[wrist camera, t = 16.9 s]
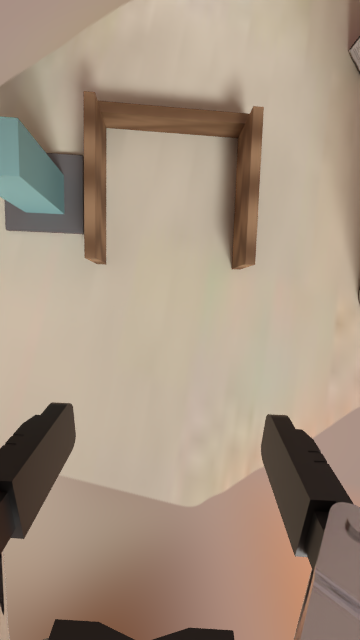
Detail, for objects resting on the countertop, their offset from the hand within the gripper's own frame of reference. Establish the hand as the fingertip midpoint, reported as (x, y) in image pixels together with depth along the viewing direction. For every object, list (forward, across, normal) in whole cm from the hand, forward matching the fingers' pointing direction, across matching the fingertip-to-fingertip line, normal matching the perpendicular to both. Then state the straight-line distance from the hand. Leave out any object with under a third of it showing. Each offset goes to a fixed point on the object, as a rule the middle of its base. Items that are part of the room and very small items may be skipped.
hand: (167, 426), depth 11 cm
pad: (+29, +19, -12) cm, 36 cm away
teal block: (+28, +19, -12) cm, 36 cm away
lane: (+30, +2, -12) cm, 33 cm away
